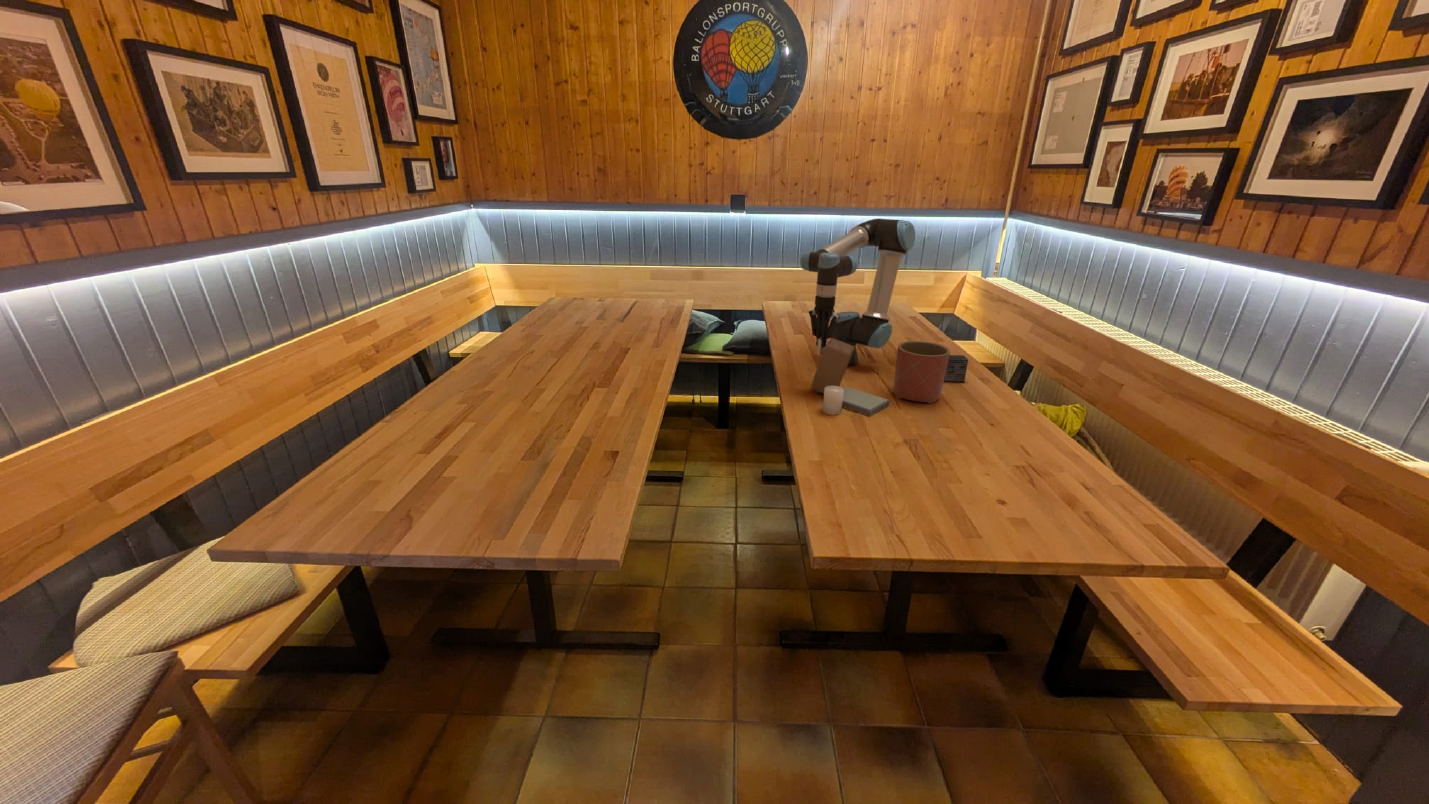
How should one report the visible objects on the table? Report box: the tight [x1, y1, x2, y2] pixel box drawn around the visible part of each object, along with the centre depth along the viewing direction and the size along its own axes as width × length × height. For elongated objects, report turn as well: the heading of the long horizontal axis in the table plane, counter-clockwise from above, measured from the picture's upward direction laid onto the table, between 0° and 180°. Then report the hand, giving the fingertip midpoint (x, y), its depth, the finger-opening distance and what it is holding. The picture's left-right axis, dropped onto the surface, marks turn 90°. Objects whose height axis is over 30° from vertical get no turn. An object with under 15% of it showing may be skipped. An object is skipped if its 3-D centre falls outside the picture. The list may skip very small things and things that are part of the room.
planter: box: [892, 340, 951, 405], centre depth 218 cm, size 19×19×20 cm
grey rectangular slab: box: [842, 386, 891, 417], centre depth 214 cm, size 19×14×2 cm
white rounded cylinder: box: [822, 386, 845, 415], centre depth 206 cm, size 7×7×9 cm
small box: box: [943, 354, 969, 384], centre depth 236 cm, size 11×6×10 cm, turn 84°
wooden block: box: [810, 338, 854, 395], centre depth 219 cm, size 10×10×20 cm
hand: (820, 354), depth 220 cm, fingers closed
